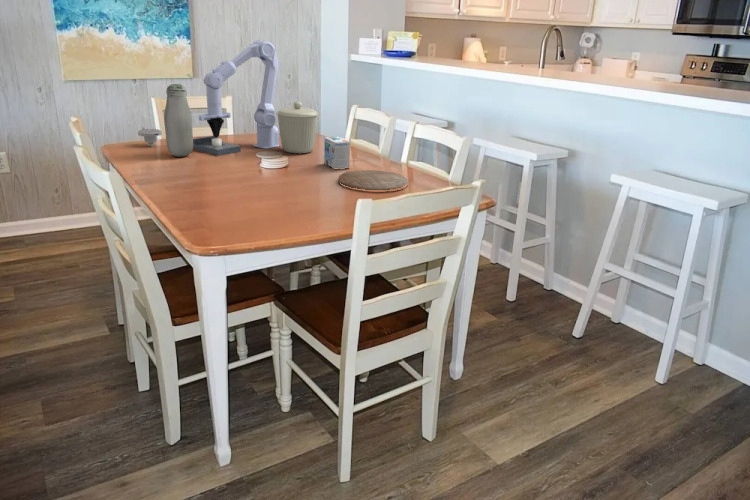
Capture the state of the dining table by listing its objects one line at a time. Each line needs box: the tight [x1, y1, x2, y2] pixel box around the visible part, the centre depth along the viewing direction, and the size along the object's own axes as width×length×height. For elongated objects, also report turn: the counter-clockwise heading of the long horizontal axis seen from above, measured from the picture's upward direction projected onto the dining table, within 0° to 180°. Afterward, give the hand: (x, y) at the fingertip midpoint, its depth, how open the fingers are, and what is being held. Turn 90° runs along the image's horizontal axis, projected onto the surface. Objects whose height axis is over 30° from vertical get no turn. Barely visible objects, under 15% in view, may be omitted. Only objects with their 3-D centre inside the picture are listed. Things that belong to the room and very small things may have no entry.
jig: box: [192, 135, 242, 157], centre depth 243 cm, size 12×16×4 cm
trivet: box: [337, 169, 409, 190], centre depth 207 cm, size 25×25×2 cm
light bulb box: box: [323, 136, 351, 168], centre depth 226 cm, size 11×7×11 cm, turn 27°
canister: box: [275, 101, 320, 155], centre depth 246 cm, size 18×18×21 cm
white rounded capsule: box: [212, 137, 223, 147], centre depth 242 cm, size 4×4×5 cm
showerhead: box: [137, 126, 163, 147], centre depth 244 cm, size 9×7×10 cm
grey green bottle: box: [163, 83, 194, 158], centre depth 226 cm, size 10×10×28 cm
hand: (216, 136), depth 241 cm, fingers closed
